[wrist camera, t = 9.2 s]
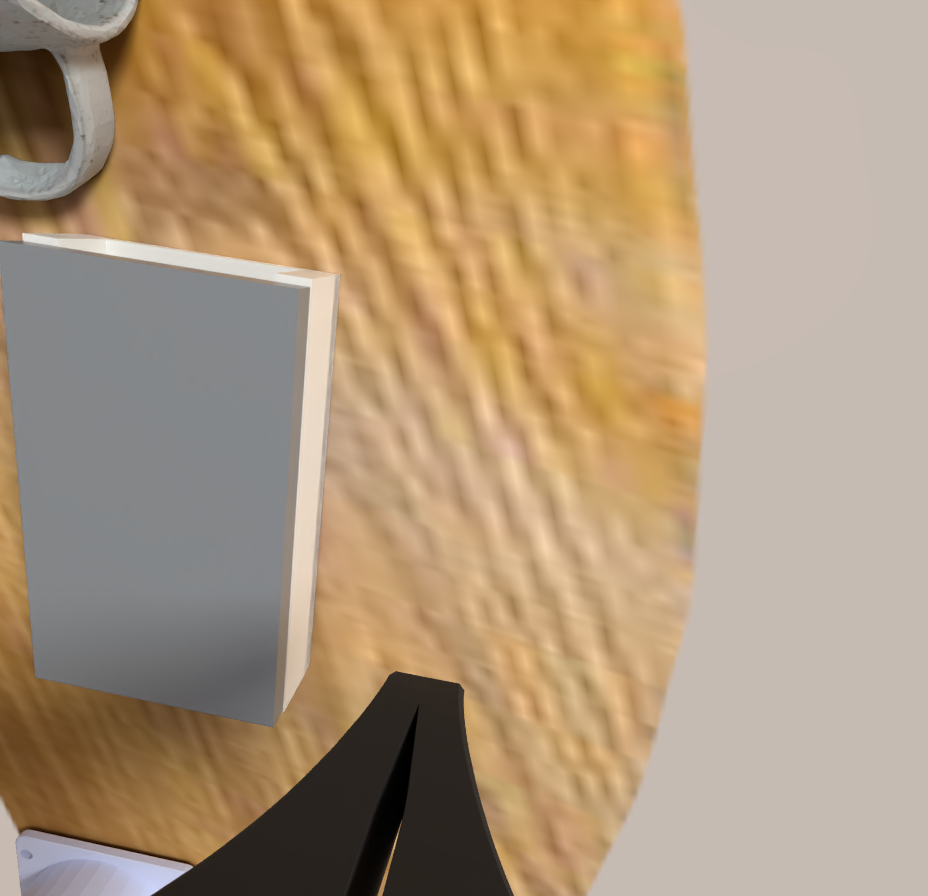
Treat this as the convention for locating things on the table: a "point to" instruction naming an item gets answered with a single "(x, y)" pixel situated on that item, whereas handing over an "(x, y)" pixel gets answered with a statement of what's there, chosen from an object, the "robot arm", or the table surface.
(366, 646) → the table surface
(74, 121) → the ceramic mug
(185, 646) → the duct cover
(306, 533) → the cable duct
